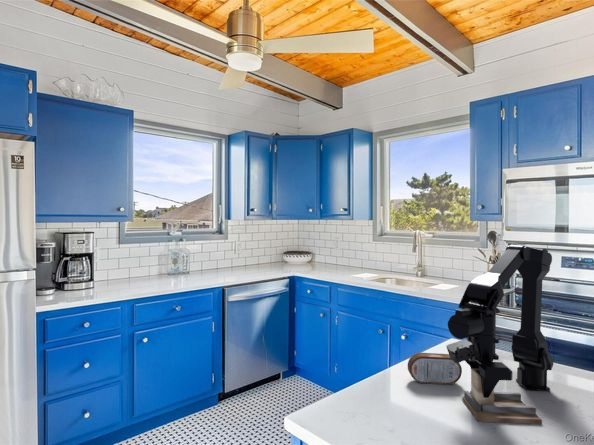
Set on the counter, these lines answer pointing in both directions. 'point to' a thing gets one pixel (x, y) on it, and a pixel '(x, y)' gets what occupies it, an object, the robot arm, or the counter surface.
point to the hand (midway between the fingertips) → (482, 393)
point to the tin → (434, 368)
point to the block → (479, 389)
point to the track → (502, 409)
